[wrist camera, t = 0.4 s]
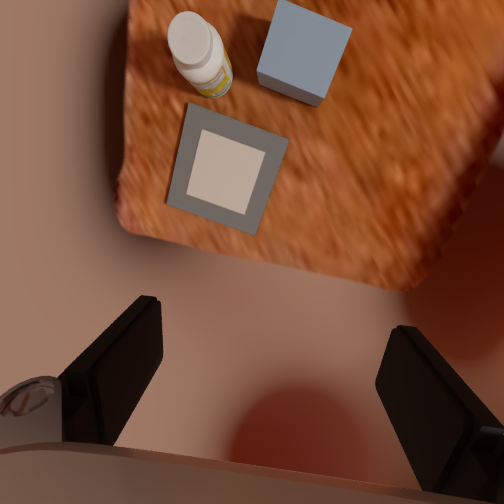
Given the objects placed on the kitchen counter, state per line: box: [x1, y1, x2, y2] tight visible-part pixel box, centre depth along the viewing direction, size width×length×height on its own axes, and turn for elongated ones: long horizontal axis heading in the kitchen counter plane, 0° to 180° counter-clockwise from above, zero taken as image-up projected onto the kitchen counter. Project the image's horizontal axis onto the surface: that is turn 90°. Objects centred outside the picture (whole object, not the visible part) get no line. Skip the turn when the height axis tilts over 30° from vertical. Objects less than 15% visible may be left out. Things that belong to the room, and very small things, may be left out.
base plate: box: [167, 102, 289, 236], centre depth 35 cm, size 14×14×1 cm
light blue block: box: [257, 0, 352, 108], centre depth 28 cm, size 6×8×5 cm
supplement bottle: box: [168, 11, 233, 98], centre depth 27 cm, size 5×5×10 cm
